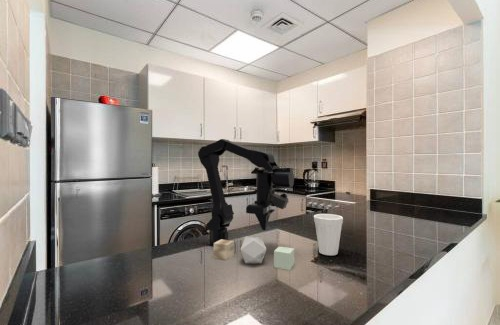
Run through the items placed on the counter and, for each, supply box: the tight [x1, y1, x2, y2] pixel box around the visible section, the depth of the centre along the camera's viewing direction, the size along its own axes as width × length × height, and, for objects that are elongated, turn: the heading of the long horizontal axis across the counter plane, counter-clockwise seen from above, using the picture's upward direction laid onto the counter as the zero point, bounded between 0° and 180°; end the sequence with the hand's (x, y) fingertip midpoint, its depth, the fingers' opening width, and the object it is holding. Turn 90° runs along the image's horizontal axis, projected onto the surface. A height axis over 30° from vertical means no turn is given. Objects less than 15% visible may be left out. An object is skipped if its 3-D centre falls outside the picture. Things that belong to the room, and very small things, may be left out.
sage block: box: [273, 246, 295, 271], centre depth 75 cm, size 5×5×5 cm
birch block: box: [213, 239, 235, 261], centre depth 83 cm, size 5×5×5 cm
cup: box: [313, 213, 344, 256], centre depth 86 cm, size 10×10×13 cm
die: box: [240, 236, 267, 265], centre depth 79 cm, size 8×9×10 cm
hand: (264, 229), depth 88 cm, fingers closed
